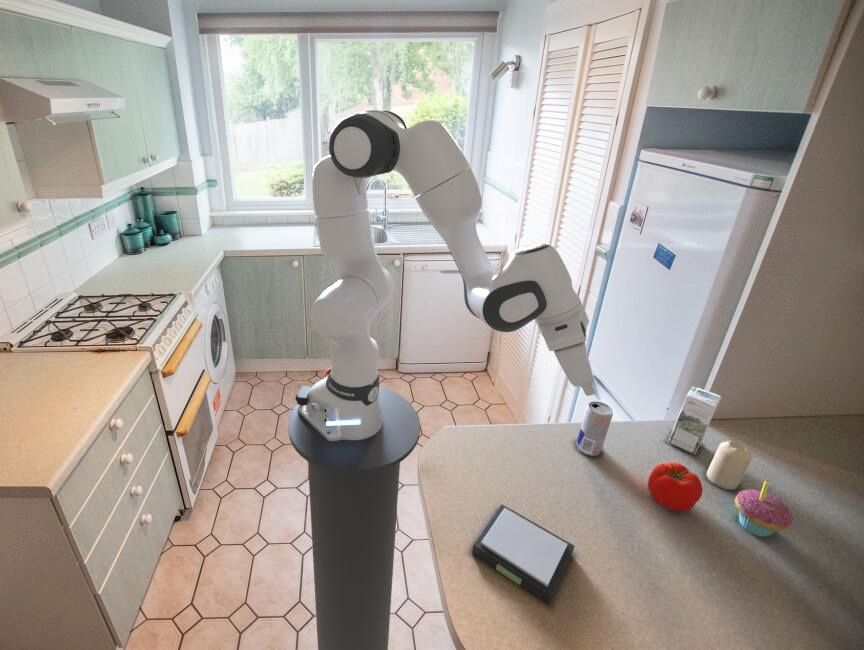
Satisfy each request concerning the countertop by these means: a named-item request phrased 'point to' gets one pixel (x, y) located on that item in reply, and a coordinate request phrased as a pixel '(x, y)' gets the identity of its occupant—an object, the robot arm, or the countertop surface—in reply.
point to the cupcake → (762, 512)
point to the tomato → (674, 486)
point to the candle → (729, 464)
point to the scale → (524, 552)
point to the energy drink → (594, 428)
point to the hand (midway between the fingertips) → (588, 380)
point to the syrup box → (694, 419)
